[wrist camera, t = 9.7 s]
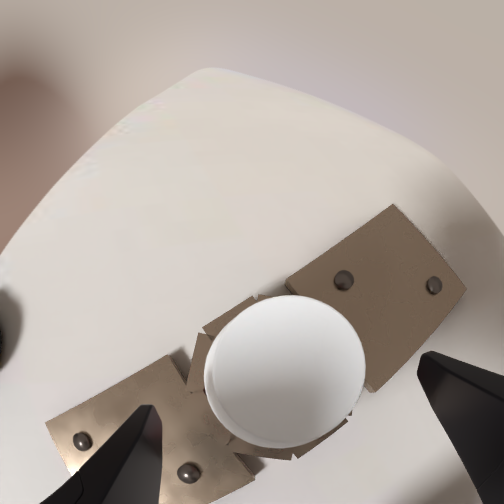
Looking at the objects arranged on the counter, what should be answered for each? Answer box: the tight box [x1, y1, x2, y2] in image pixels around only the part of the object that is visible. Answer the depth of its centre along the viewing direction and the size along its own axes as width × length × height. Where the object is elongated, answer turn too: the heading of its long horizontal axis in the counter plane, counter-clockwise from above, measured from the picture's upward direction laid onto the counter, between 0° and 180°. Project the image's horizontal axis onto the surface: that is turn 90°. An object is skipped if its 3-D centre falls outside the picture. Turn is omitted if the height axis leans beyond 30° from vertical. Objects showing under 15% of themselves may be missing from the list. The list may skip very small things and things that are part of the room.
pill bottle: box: [204, 295, 366, 448], centre depth 13 cm, size 6×6×11 cm
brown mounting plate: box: [45, 204, 466, 504], centre depth 16 cm, size 34×10×3 cm, turn 125°
